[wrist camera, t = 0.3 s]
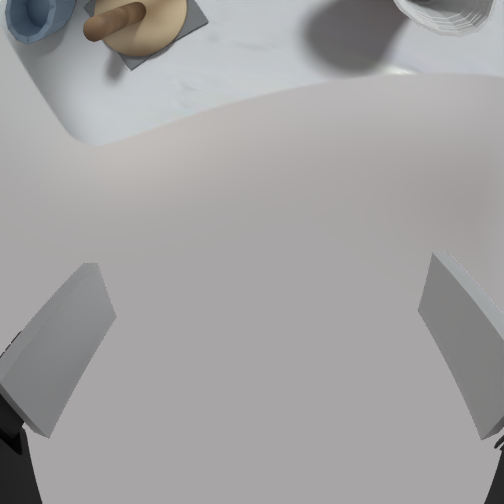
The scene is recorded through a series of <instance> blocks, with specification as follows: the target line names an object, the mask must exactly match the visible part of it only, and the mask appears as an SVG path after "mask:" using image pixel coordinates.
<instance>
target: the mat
mask: <svg viewBox="0 0 504 504" xmlns="http://www.w3.org/2000/svg"><path fill="white" fill-rule="evenodd" d="M96 1H97V0H91V1H90V2H89V3H88V4H87V5H86V6H85V7H84V9H85V10H86V11H87V12H88V14H89V15H90V16H91V17H93V16H94V11H95V4H96ZM207 22H209V21H208V20H207V18H206V17H205V15H204V14H203V12H202V11H201V9H200V8H199V6H198V5H197V3H196V2H195V1H194V0H188V13H187V18H186V21H185V24H184V26H183V28H182V30H181V31H180V33H179V34H178V36H177V37H176V38H175V39H174V40H173V41H172V42H174V41H175V40H177V39H178V38H180V37H182V36H184V35H185V34H187V33H189V32H191V31H192V30H194V29H196V28H198V27H200V26H202V25H203V24H205V23H207ZM172 42H171V43H172ZM168 45H169V44H168ZM160 50H161V49H160ZM117 52H118V51H117ZM157 52H158V51H157ZM118 53H119V55H120V56H121V57H122V59H123V60H124V61H125V63H126V64H127V65H128V67H129V68H130V69H131V70H132V69H133V68H134V67H136V66H137V65H138V64H140V63H141V62H143V61H144V60H146V59H147V58H149V57H150V56H152V55H153V54H155V53H156V52H154V53H152V54H148V55H143V56H130V55H126V54H122V53H120V52H118Z"/></svg>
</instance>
